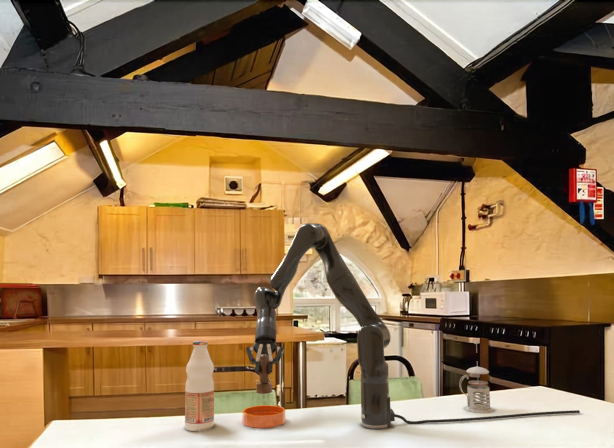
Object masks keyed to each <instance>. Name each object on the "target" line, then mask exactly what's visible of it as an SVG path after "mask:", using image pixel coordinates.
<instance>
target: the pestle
mask: <svg viewBox="0 0 614 448" xmlns="http://www.w3.org/2000/svg"><path fill="white" fill-rule="evenodd" d="M259 360H260V375H259V381H258V382H256V394H259V395H266V394H267V395H268V394H271V393H273V382H272V381H269V380H270V378H269V377H270V376H269V375H270V374H268V362H269V357H268V355H266V354H262V355H261V356H260V358H259Z"/></svg>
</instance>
